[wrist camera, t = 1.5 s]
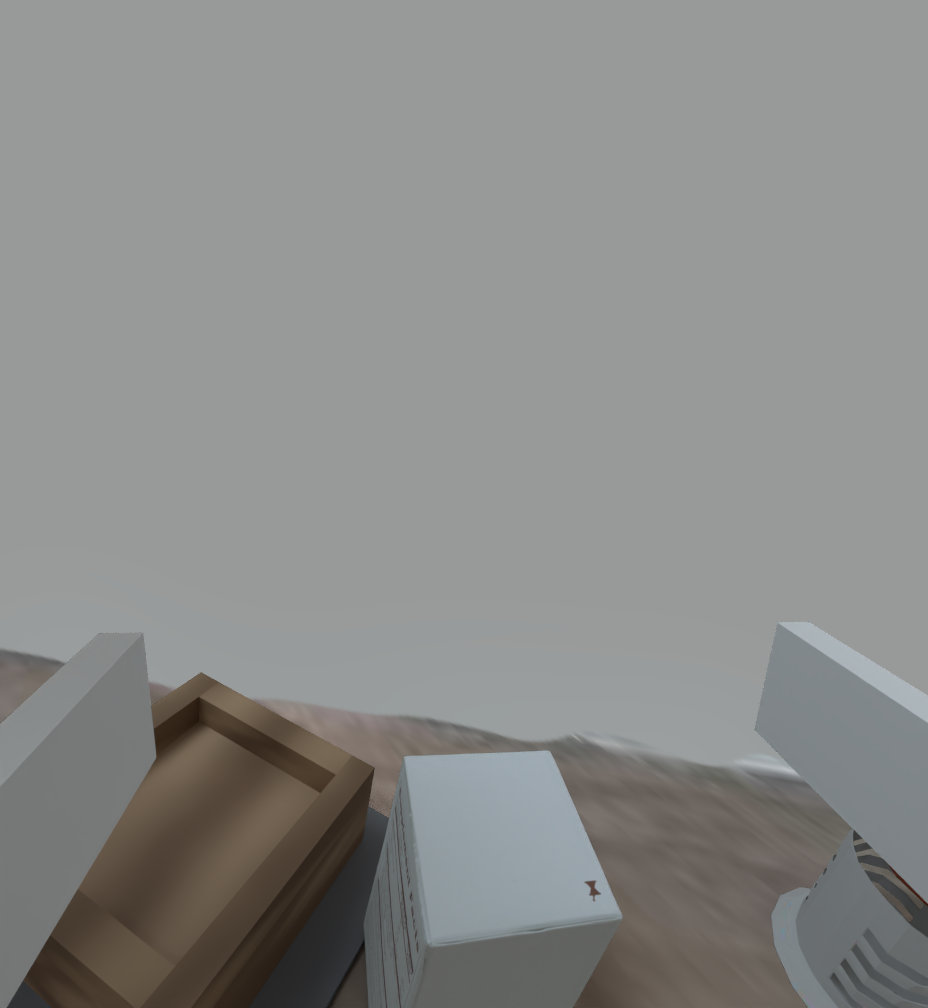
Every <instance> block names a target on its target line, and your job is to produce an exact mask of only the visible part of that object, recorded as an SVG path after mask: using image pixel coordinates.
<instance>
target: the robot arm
mask: <svg viewBox="0 0 928 1008" xmlns="http://www.w3.org/2000/svg"><path fill="white" fill-rule="evenodd" d="M755 730H756V732H757V733H758V734H759V735H760V736H761V737H762V738H764V740H765V741H766V742H767V743H768V744H769V745H770V746H771V747H772V748H773V749H774V750H775V751H776V752H778V754H779V755H780V756H781V757H782V758H783V759H784V760H785V761H786V762H787V763H788V764H789V765H790V766H791V767H792V768H793V769H794V770H795V771H796V772H797V773H798V774H799V775H800V776H801V777H802V778H803V779H804V780H805V781H806V782H807V783H808V784H809V785H810V786H811V787H812V788H813V789H814V790H815V791H816V792H817V793H818V794H819V795H820V796H821V797H822V798H823V799H824V800H825V801H826V802H827V803H828V804H829V805H830V806H831V807H832V808H833V809H834V810H835V811H836V812H837V813H838V814H839V815H840V816H841V817H842V818H843V819H844V820H845V821H846V822H847V823H848V824H849V825H850V826H851V827H852V828H853V829H854V830H855V831H856V832H857V833H858V834H859V835H860V836H861V837H862V838H863V839H864V840H865V841H866V842H867V843H868V844H869V845H870V846H871V847H872V848H873V849H874V850H875V851H876V852H877V853H878V854H879V855H880V856H881V857H882V858H883V859H884V860H885V861H886V862H887V863H888V864H889V865H890V866H891V867H892V868H893V869H894V870H895V871H896V872H897V873H898V874H899V875H900V876H901V877H902V878H903V879H904V880H905V881H906V882H907V883H908V884H909V885H910V886H911V887H912V888H913V889H914V890H915V891H916V892H917V893H918V894H919V895H920V896H921V897H922V898H923V899H924V900H925V901H926V902H927V903H928V695H926V694H924V693H923V692H921V691H920V690H918V689H916V688H915V687H913V686H911V685H910V684H908V683H907V682H905V681H903V680H902V679H900V678H899V677H897V676H895V675H893V674H892V673H890V672H889V671H887V670H886V669H884V668H882V667H881V666H879V665H877V664H876V663H874V662H873V661H871V660H869V659H868V658H866V657H864V656H863V655H861V654H860V653H858V652H856V651H855V650H853V649H851V648H850V647H848V646H846V645H845V644H843V643H842V642H840V641H838V640H836V639H835V638H833V637H832V636H830V635H829V634H827V633H826V632H824V631H822V630H821V629H819V628H817V627H816V626H814V625H812V624H811V623H809V622H781V623H780V622H778V623H777V627H776V632H775V636H774V641H773V646H772V651H771V655H770V660H769V665H768V669H767V674H766V679H765V683H764V688H763V692H762V697H761V702H760V706H759V712H758V716H757V721H756V725H755ZM155 759H156V748H155V738H154V729H153V720H152V710H151V701H150V692H149V682H148V673H147V664H146V654H145V646H144V636H143V633H99V634H98V635H97V636H95V638H93V639H92V640H91V641H90V642H89V643H88V644H87V645H86V646H85V647H83V648H82V649H81V650H80V651H79V652H78V653H77V654H76V655H75V656H74V657H73V658H71V659H70V660H69V661H68V662H67V663H66V664H65V665H64V666H63V667H62V668H61V669H59V670H58V671H57V672H56V673H55V674H54V675H53V676H52V677H51V678H50V679H49V680H47V681H46V682H45V683H44V684H43V685H42V686H41V687H40V688H39V689H38V690H37V691H35V692H34V693H33V694H32V695H31V696H30V697H29V698H28V699H27V700H26V701H25V702H23V703H22V704H21V705H20V706H19V707H18V708H17V709H16V710H15V711H14V712H13V713H11V714H10V715H9V716H8V717H7V718H6V719H5V720H4V721H3V722H2V723H1V724H0V1008H7V1006H8V1005H9V1003H10V1001H11V1000H12V998H13V996H14V995H15V993H16V991H17V990H18V988H19V986H20V985H21V983H22V981H23V980H24V978H25V976H26V975H27V973H28V971H29V970H30V968H31V966H32V965H33V963H34V961H35V960H36V958H37V956H38V955H39V953H40V951H41V950H42V948H43V946H44V945H45V943H46V941H47V940H48V938H49V936H50V934H51V933H52V931H53V929H54V928H55V926H56V924H57V923H58V921H59V919H60V918H61V916H62V914H63V913H64V911H65V909H66V908H67V906H68V904H69V903H70V901H71V899H72V898H73V896H74V894H75V893H76V891H77V889H78V888H79V886H80V884H81V883H82V881H83V879H84V878H85V876H86V874H87V873H88V871H89V869H90V868H91V866H92V864H93V863H94V861H95V859H96V858H97V856H98V854H99V853H100V851H101V849H102V848H103V846H104V844H105V843H106V841H107V839H108V838H109V836H110V834H111V833H112V831H113V829H114V828H115V826H116V824H117V823H118V821H119V819H120V818H121V816H122V814H123V813H124V811H125V809H126V808H127V806H128V804H129V803H130V801H131V799H132V798H133V796H134V794H135V793H136V791H137V789H138V788H139V786H140V784H141V783H142V781H143V779H144V778H145V776H146V774H147V773H148V771H149V769H150V768H151V766H152V764H153V763H154V761H155Z"/></svg>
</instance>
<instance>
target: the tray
mask: <svg viewBox="0 0 928 1008" xmlns="http://www.w3.org/2000/svg"><path fill="white" fill-rule="evenodd" d="M151 710H152V720H153V729H154V738H155V748H156V759H155V761H154V763H153V764H152V766H151V768H150V769H149V771H148V773H147V774H146V776H145V778H144V779H143V781H142V783H141V784H140V786H139V788H138V789H137V791H136V793H135V794H134V796H133V798H132V799H131V801H130V803H129V804H128V806H127V808H126V809H125V811H124V813H123V814H122V816H121V818H120V819H119V821H118V823H117V824H116V826H115V828H114V829H113V831H112V833H111V834H110V836H109V838H108V839H107V841H106V843H105V844H104V846H103V848H102V849H101V851H100V853H99V854H98V856H97V858H96V859H95V861H94V863H93V864H92V866H91V868H90V869H89V871H88V873H87V874H86V876H85V878H84V879H83V881H82V883H81V884H80V886H79V888H78V889H77V891H76V893H75V894H74V896H73V898H72V899H71V901H70V903H69V904H68V906H67V908H66V909H65V911H64V913H63V914H62V916H61V918H60V919H59V921H58V923H57V924H56V926H55V928H54V929H53V931H52V933H51V934H50V936H49V938H48V940H47V941H46V943H45V945H44V946H43V948H42V950H41V951H40V953H39V955H38V956H37V958H36V960H35V961H34V963H33V965H32V966H31V968H30V970H29V971H28V973H27V975H26V976H25V978H24V980H23V982H25V983H26V984H27V985H28V986H29V987H30V988H31V989H32V990H33V991H34V992H35V993H37V994H38V995H39V996H40V997H41V998H42V999H43V1000H44V1001H45V1002H46V1003H47V1004H48V1005H50V1006H51V1007H52V1008H249V1006H250V1005H251V1003H252V1002H253V1000H254V999H255V997H256V996H257V994H258V993H259V991H260V990H261V989H262V987H263V986H264V984H265V983H266V981H267V980H268V978H269V977H270V975H271V974H272V972H273V971H274V969H275V968H276V966H277V965H278V964H279V962H280V961H281V959H282V958H283V956H284V955H285V953H286V952H287V950H288V949H289V947H290V946H291V944H292V943H293V942H294V940H295V939H296V937H297V936H298V934H299V933H300V931H301V930H302V928H303V927H304V925H305V924H306V922H307V921H308V919H309V918H310V917H311V915H312V914H313V912H314V911H315V909H316V908H317V906H318V905H319V903H320V902H321V900H322V899H323V897H324V896H325V894H326V893H327V892H328V890H329V889H330V887H331V886H332V884H333V883H334V881H335V880H336V878H337V877H338V875H339V874H340V872H341V871H342V869H343V868H344V867H345V865H346V864H347V862H348V861H349V859H350V858H351V856H352V855H353V853H354V852H355V850H356V849H357V847H358V846H359V844H360V843H361V842H362V840H363V835H364V829H365V823H366V817H367V811H368V805H369V799H370V793H371V787H372V781H373V775H374V769H375V768H374V767H372V766H370V765H369V764H367V763H365V762H363V761H361V760H359V759H358V758H356V757H354V756H352V755H350V754H349V753H347V752H345V751H343V750H341V749H339V748H338V747H336V746H334V745H332V744H330V743H329V742H327V741H325V740H323V739H321V738H319V737H318V736H316V735H314V734H312V733H310V732H309V731H307V730H305V729H303V728H301V727H299V726H298V725H296V724H294V723H292V722H290V721H289V720H287V719H285V718H283V717H281V716H279V715H278V714H276V713H274V712H272V711H270V710H269V709H267V708H265V707H263V706H261V705H259V704H258V703H256V702H254V701H252V700H250V699H249V698H247V697H245V696H243V695H241V694H239V693H238V692H236V691H234V690H232V689H230V688H229V687H227V686H225V685H223V684H221V683H219V682H218V681H216V680H214V679H212V678H210V677H208V676H207V675H205V674H203V673H200V674H198V675H197V676H195V677H194V678H192V679H191V680H189V681H188V682H186V683H185V684H183V685H182V686H180V687H179V688H177V689H176V690H174V691H173V692H171V693H170V694H168V695H167V696H165V697H164V698H162V699H161V700H159V701H158V702H156V703H155V704H153V705H152V706H151Z"/></svg>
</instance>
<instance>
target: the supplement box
mask: <svg viewBox="0 0 928 1008" xmlns="http://www.w3.org/2000/svg"><path fill="white" fill-rule="evenodd" d="M622 919H623V915H622V913H621V911H620V909H619V907H618V905H617V902H616V900H615V898H614V896H613V894H612V891H611V889H610V886H609V884H608V882H607V879H606V877H605V875H604V873H603V870H602V868H601V866H600V863H599V861H598V859H597V856H596V854H595V852H594V850H593V847H592V845H591V843H590V840H589V838H588V836H587V833H586V831H585V829H584V826H583V824H582V822H581V820H580V817H579V815H578V813H577V810H576V808H575V806H574V804H573V801H572V799H571V797H570V794H569V792H568V790H567V788H566V785H565V783H564V781H563V778H562V776H561V774H560V771H559V769H558V767H557V765H556V762H555V760H554V758H553V756H552V754H551V753H550V752H549V751H529V752H507V753H479V754H453V755H424V756H405V757H404V759H403V762H402V766H401V770H400V775H399V779H398V783H397V788H396V792H395V796H394V800H393V804H392V808H391V813H390V817H389V821H388V826H387V830H386V835H385V839H384V843H383V846H382V851H381V855H380V859H379V863H378V866H377V871H376V875H375V878H374V883H373V887H372V891H371V895H370V899H369V902H368V906H367V910H366V915H365V919H364V925H363V927H364V939H365V955H366V973H367V992H368V1008H573V1007H574V1005H575V1004H576V1002H577V1000H578V998H579V996H580V995H581V993H582V991H583V989H584V987H585V986H586V984H587V982H588V980H589V978H590V977H591V975H592V973H593V971H594V970H595V968H596V966H597V964H598V962H599V961H600V959H601V957H602V955H603V953H604V951H605V950H606V948H607V946H608V945H609V943H610V941H611V939H612V937H613V935H614V934H615V932H616V930H617V928H618V926H619V925H620V923H621V921H622Z"/></svg>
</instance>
